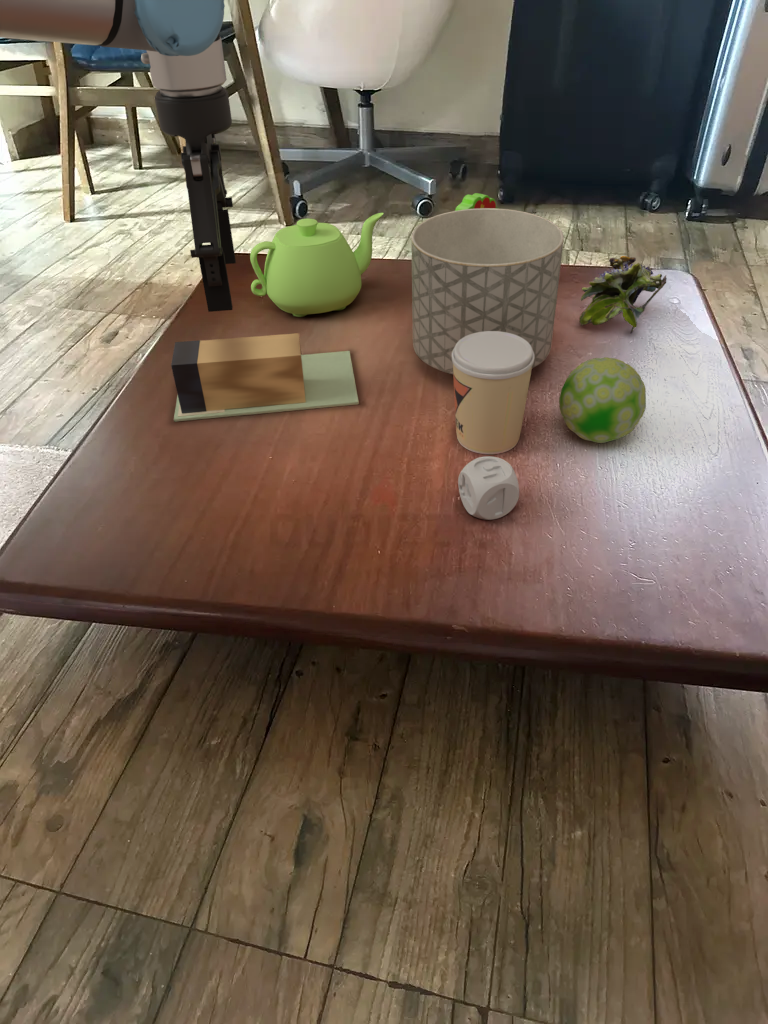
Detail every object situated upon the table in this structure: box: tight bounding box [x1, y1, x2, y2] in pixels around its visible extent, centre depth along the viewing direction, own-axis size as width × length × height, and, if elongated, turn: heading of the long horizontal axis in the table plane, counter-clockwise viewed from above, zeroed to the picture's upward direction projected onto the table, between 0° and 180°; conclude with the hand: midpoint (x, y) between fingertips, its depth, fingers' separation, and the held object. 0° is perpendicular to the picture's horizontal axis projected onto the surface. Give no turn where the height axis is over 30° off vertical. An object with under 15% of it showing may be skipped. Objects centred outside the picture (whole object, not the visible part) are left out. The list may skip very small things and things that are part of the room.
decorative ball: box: [558, 356, 647, 444], centre depth 92 cm, size 10×10×10 cm
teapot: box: [249, 212, 384, 318], centre depth 122 cm, size 22×15×13 cm
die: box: [457, 455, 520, 521], centre depth 84 cm, size 5×5×5 cm
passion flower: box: [579, 255, 668, 335], centre depth 115 cm, size 11×11×12 cm
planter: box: [410, 207, 565, 375], centre depth 104 cm, size 19×19×18 cm
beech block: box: [170, 332, 306, 413], centre depth 102 cm, size 16×6×7 cm, turn 97°
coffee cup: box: [452, 331, 534, 455], centre depth 92 cm, size 9×9×12 cm
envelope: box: [173, 350, 360, 423], centre depth 107 cm, size 24×14×1 cm, turn 97°
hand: (222, 285), depth 94 cm, fingers open, 13 cm apart
